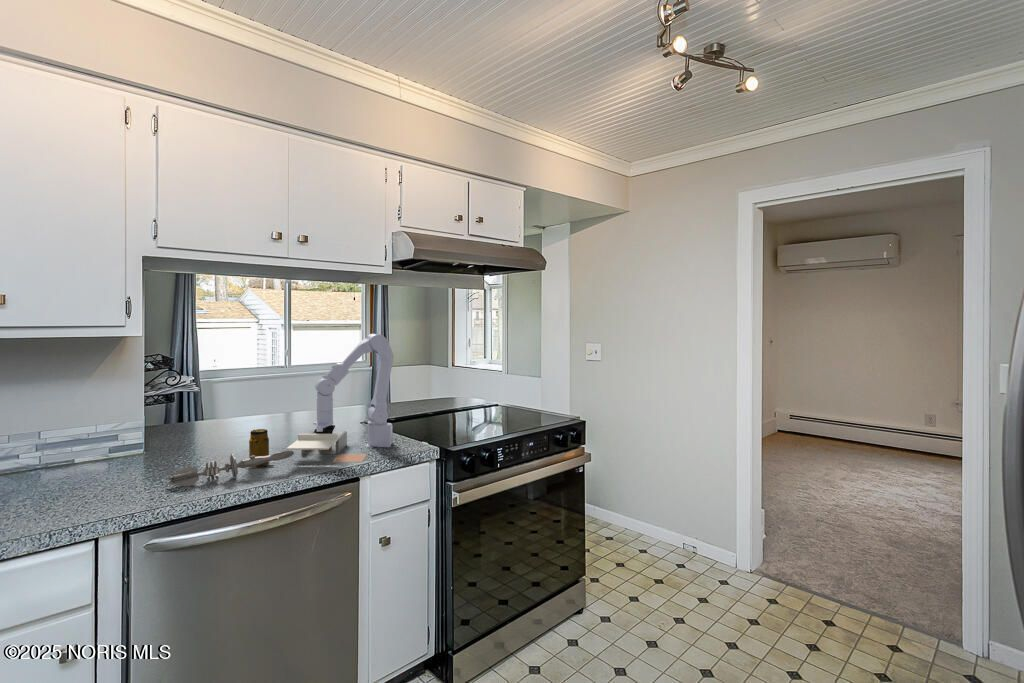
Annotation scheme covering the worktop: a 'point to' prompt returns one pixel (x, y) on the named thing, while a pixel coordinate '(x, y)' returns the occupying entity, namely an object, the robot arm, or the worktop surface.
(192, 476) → the spaceship
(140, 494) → the worktop surface
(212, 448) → the worktop surface
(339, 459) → the tile
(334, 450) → the case
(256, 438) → the condiment
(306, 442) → the cover
